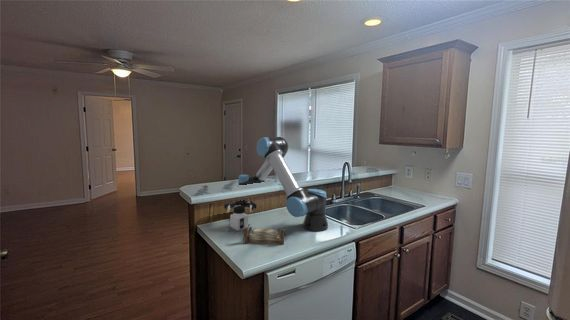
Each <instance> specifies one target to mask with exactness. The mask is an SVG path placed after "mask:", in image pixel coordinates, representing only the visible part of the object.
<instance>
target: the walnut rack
mask: <svg viewBox="0 0 570 320" xmlns="http://www.w3.org/2000/svg"><path fill="white" fill-rule="evenodd" d="M250 232H253V227H252V226H249V228H248V227H245V228H244V232H243V244H276V245H277V244H279V245H281V246H283V245H284V244H285V228H284V227H282V228H280V236H279V241H271V240H249V237H250Z"/></svg>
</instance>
